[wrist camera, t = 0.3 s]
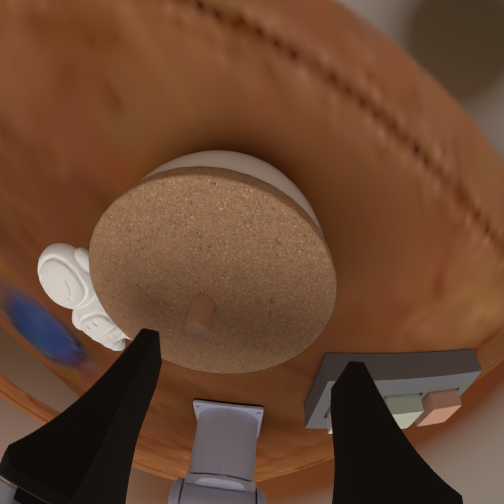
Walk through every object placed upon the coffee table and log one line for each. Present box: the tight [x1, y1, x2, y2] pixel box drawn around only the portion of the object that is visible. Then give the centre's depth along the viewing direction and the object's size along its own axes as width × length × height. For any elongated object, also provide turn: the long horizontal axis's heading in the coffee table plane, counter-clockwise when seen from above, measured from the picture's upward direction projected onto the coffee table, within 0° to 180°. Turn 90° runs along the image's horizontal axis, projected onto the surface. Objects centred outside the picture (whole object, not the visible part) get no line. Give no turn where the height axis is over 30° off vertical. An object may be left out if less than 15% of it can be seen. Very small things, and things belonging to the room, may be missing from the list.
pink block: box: [415, 388, 462, 426], centre depth 25 cm, size 4×4×3 cm
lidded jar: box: [88, 150, 337, 373], centre depth 15 cm, size 11×11×9 cm
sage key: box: [383, 393, 424, 429], centre depth 25 cm, size 4×4×3 cm
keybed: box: [305, 349, 482, 428], centre depth 27 cm, size 10×17×3 cm, turn 87°
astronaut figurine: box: [38, 243, 133, 351], centre depth 23 cm, size 9×12×3 cm
